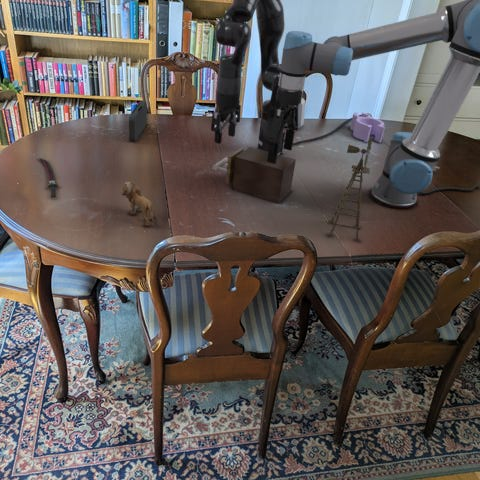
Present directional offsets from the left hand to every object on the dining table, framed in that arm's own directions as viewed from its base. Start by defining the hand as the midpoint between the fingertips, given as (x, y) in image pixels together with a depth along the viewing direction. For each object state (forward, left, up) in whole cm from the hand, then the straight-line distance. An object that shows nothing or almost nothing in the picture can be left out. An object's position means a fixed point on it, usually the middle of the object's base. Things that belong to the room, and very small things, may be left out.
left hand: (224, 139), depth 155 cm
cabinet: (-8, +13, -14) cm, 21 cm away
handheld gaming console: (+9, -50, -14) cm, 53 cm away
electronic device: (-59, -35, -14) cm, 70 cm away
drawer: (-5, +7, -13) cm, 16 cm away
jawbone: (-80, +21, -14) cm, 84 cm away
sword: (+53, -22, -14) cm, 59 cm away
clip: (-86, -14, -14) cm, 89 cm away
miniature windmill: (-15, +46, -14) cm, 50 cm away
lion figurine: (+36, +13, -14) cm, 41 cm away
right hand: (-10, +17, -1) cm, 20 cm away
